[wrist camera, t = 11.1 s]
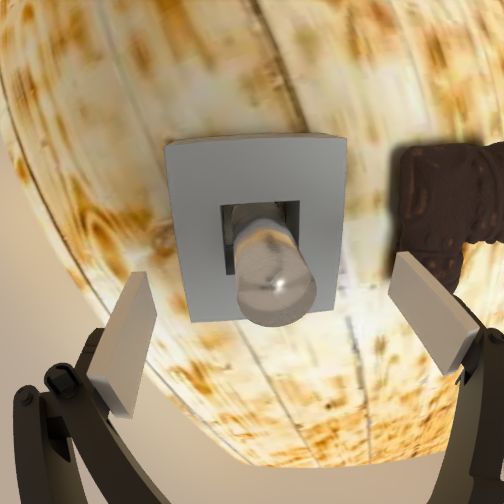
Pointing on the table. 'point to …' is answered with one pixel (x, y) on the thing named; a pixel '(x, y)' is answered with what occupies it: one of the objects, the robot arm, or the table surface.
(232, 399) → the table surface
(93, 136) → the table surface
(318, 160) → the socket block
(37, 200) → the table surface
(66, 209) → the table surface
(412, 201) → the pipe
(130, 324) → the robot arm
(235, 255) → the cylinder
